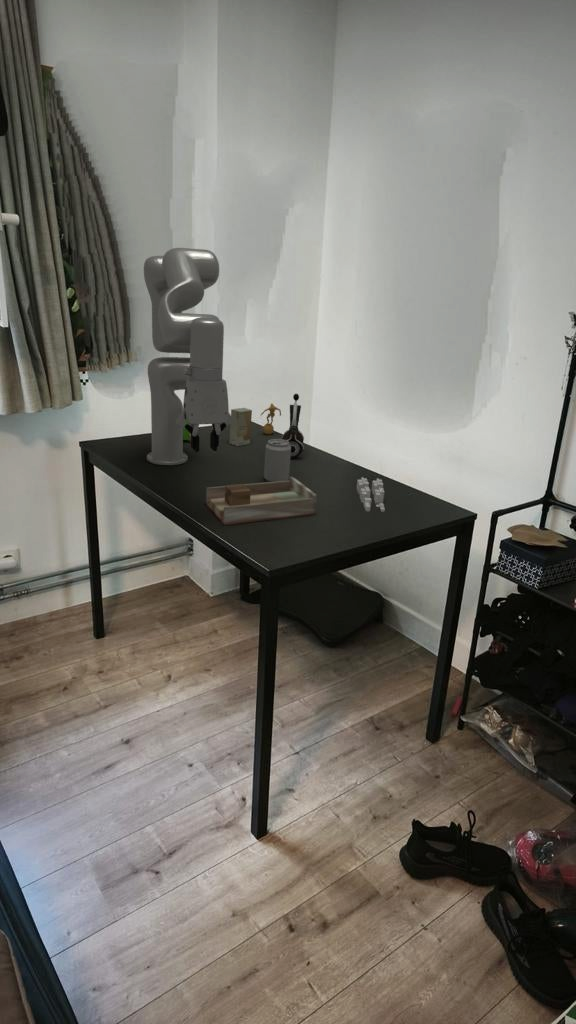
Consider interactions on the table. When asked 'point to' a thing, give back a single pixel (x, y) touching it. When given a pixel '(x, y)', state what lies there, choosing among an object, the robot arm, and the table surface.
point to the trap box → (264, 502)
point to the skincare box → (240, 426)
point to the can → (277, 460)
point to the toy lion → (186, 433)
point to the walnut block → (237, 495)
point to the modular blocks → (376, 490)
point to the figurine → (268, 427)
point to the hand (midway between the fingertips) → (204, 449)
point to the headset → (294, 430)
